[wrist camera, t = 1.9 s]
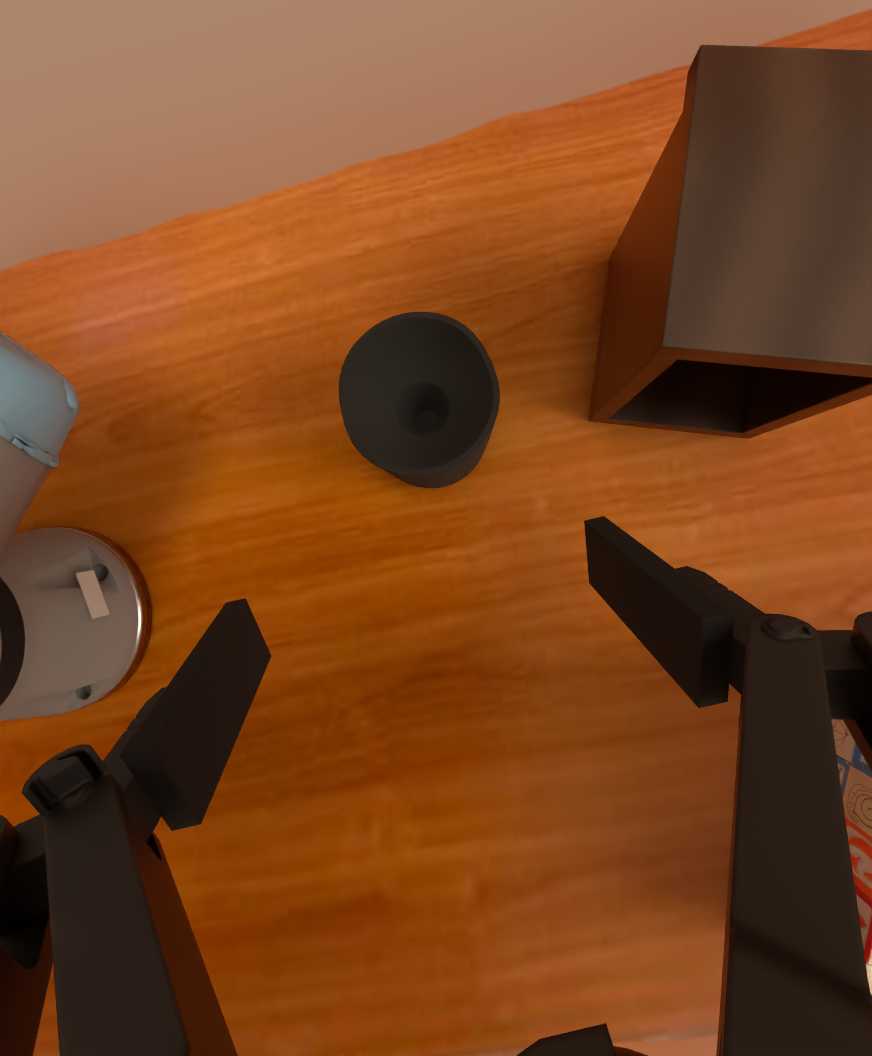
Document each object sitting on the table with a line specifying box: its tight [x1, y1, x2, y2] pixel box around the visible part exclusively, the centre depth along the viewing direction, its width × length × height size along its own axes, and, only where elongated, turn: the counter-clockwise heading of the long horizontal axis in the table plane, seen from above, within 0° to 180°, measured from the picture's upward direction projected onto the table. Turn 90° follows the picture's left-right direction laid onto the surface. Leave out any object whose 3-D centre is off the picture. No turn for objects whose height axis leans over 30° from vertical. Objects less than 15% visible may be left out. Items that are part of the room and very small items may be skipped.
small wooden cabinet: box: [589, 45, 872, 438], centre depth 26 cm, size 13×14×14 cm
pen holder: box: [339, 312, 500, 488], centre depth 29 cm, size 9×9×10 cm
